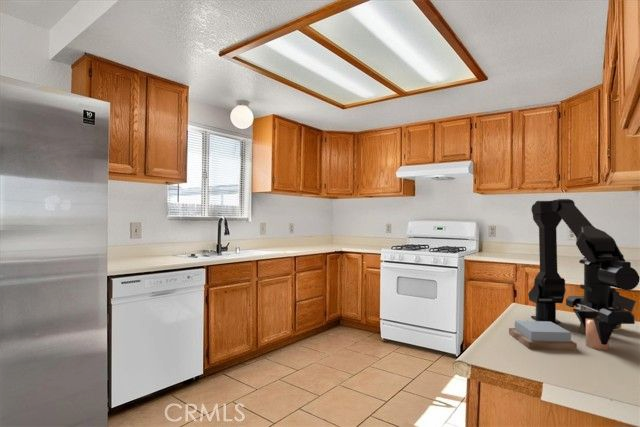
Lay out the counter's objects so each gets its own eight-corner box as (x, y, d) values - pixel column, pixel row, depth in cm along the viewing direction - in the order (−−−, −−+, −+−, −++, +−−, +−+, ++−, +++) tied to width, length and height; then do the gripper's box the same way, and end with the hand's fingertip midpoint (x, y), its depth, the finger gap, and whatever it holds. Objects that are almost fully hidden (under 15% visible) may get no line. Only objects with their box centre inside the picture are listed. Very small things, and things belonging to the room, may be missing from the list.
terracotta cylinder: (581, 343, 102) (581, 317, 102) (600, 343, 101) (600, 318, 101) (593, 349, 97) (593, 323, 97) (613, 350, 96) (613, 323, 96)
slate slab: (514, 329, 108) (514, 320, 108) (550, 330, 108) (550, 321, 108) (531, 340, 98) (531, 331, 98) (570, 342, 98) (570, 332, 98)
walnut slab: (508, 336, 110) (509, 328, 110) (551, 337, 109) (551, 328, 109) (528, 351, 98) (528, 342, 98) (576, 353, 97) (576, 343, 97)
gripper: (658, 290, 89) (658, 355, 89) (604, 276, 108) (604, 330, 108) (609, 289, 90) (609, 353, 90) (564, 276, 109) (564, 329, 109)
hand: (597, 340), depth 99 cm, fingers closed on terracotta cylinder, 5 cm apart
